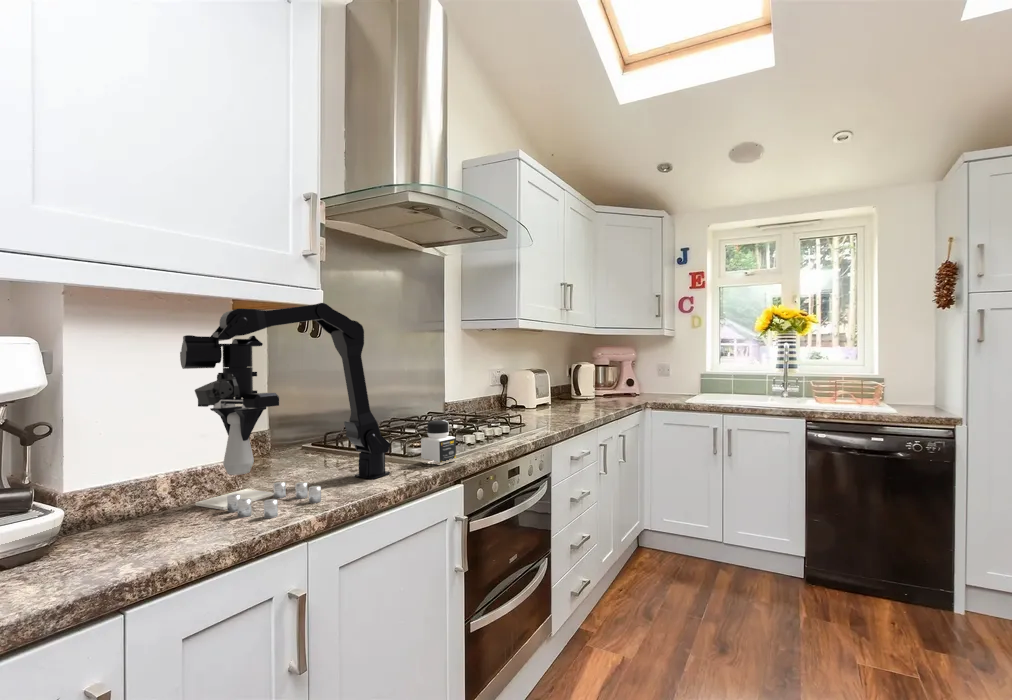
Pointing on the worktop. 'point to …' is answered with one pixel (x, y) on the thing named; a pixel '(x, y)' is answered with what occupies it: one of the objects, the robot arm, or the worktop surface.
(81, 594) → the worktop surface
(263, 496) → the pad
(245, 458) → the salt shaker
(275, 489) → the spacer field
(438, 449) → the medicine bottle
